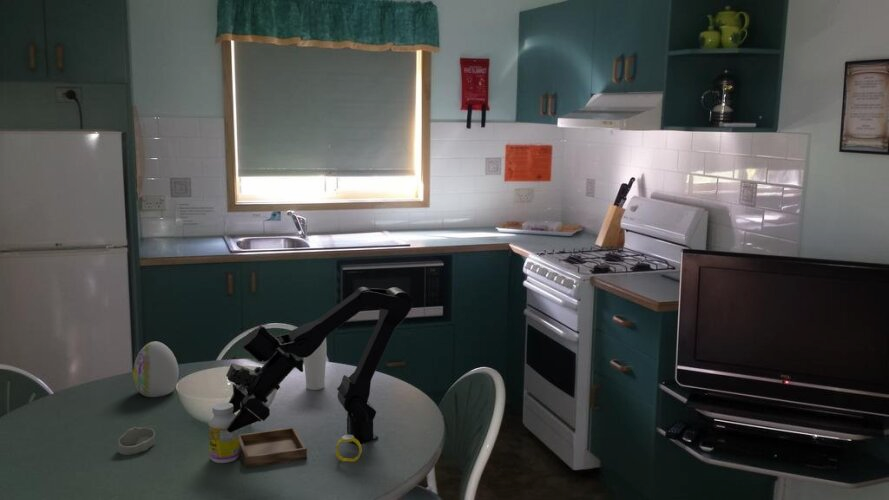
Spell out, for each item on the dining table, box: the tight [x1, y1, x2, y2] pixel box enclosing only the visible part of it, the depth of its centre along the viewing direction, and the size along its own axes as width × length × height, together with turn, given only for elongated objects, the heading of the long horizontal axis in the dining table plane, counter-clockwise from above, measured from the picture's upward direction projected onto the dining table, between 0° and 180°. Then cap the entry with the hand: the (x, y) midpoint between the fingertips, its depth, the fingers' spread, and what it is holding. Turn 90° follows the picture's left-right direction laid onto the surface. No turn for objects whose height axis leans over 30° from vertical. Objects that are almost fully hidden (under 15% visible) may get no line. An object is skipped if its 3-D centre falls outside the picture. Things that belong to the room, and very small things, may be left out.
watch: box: [334, 434, 363, 463], centre depth 191 cm, size 6×3×6 cm, turn 88°
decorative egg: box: [132, 341, 180, 398], centre depth 235 cm, size 12×12×15 cm
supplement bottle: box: [208, 401, 240, 464], centre depth 191 cm, size 7×7×13 cm
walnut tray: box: [239, 426, 308, 469], centre depth 196 cm, size 14×14×2 cm
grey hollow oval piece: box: [117, 426, 156, 456], centre depth 197 cm, size 9×6×5 cm
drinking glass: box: [302, 337, 327, 391], centre depth 239 cm, size 7×7×15 cm
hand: (225, 424), depth 191 cm, fingers open, 9 cm apart
